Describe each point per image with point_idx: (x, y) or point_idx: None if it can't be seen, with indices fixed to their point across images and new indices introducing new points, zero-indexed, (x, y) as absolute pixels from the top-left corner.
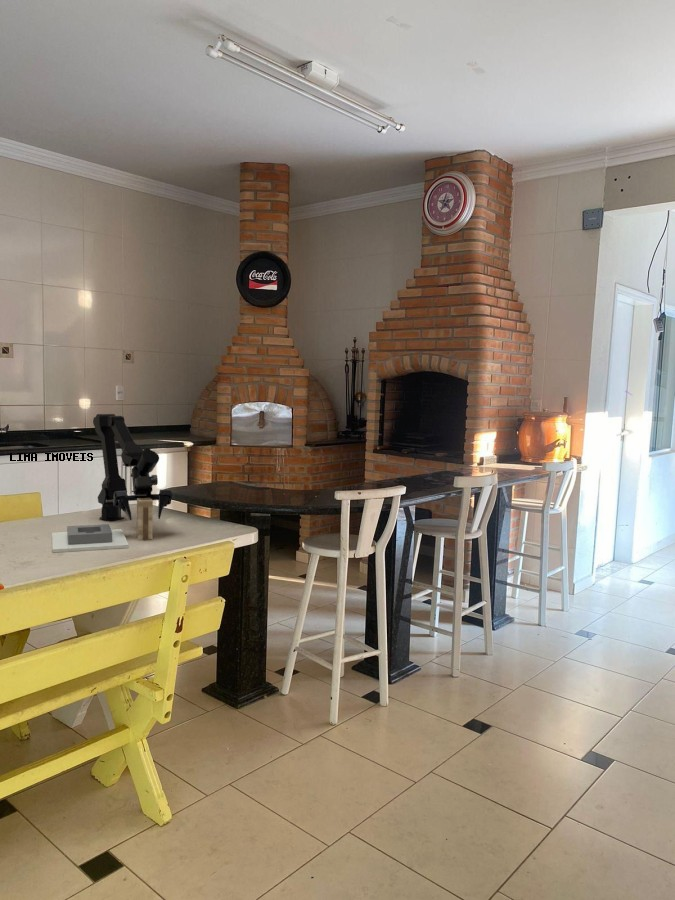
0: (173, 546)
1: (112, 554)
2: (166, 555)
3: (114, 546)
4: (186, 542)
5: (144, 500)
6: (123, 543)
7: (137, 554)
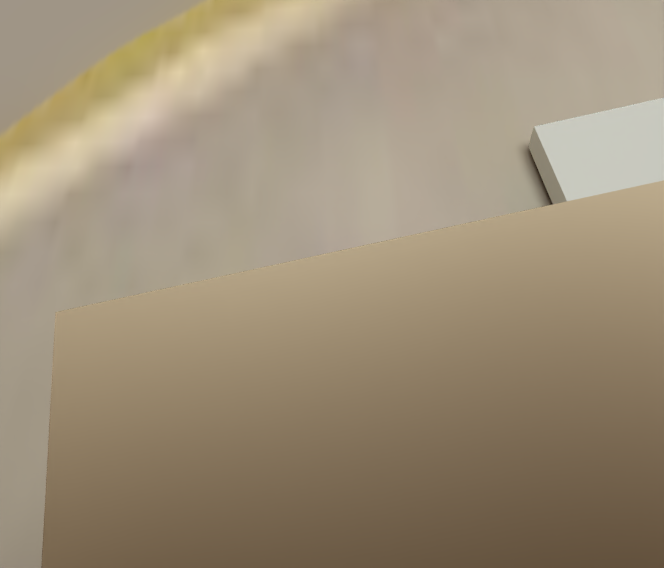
0: (144, 219)
1: (614, 9)
2: (222, 10)
3: (660, 104)
4: (5, 351)
5: (496, 283)
6: (599, 169)
7: (422, 18)
